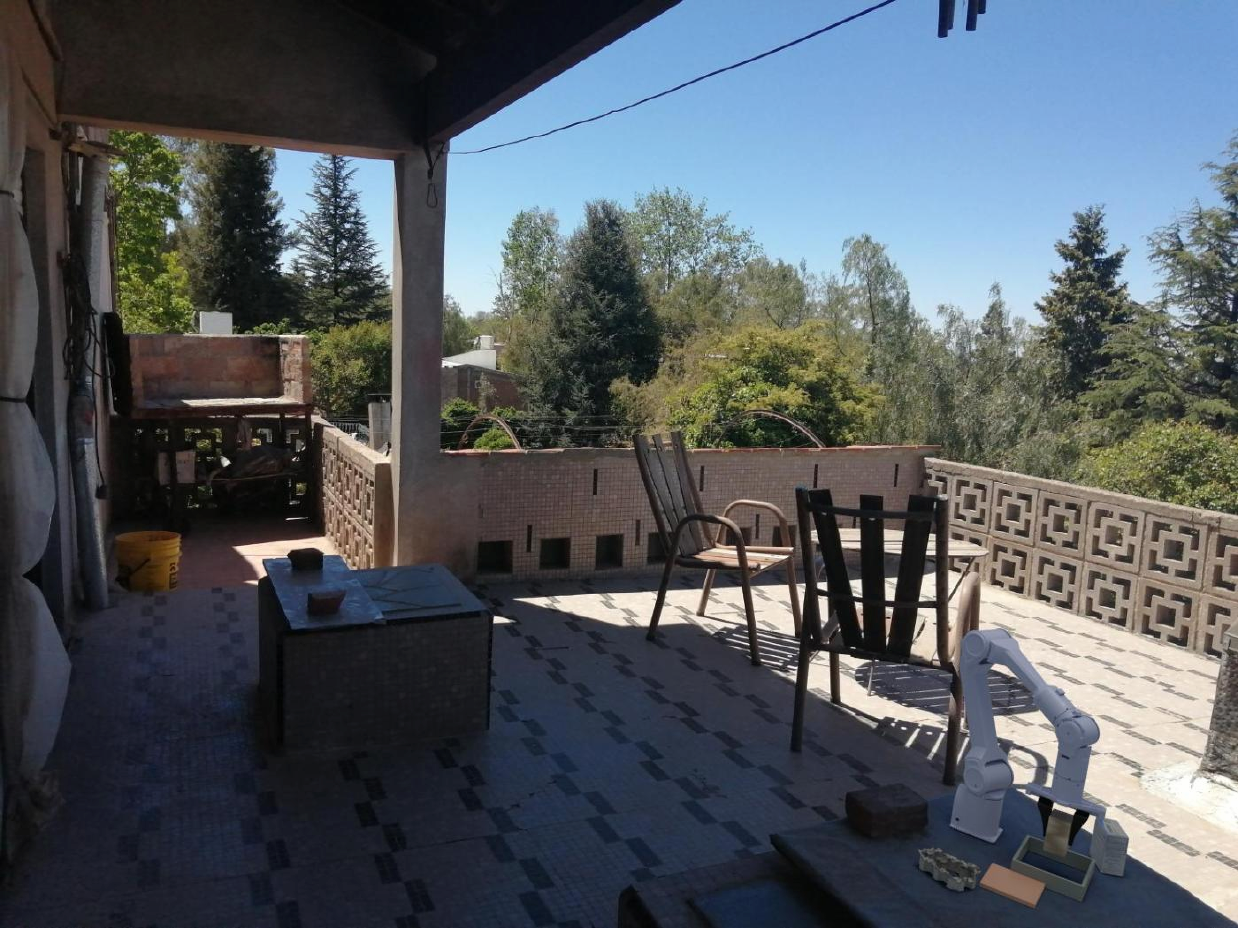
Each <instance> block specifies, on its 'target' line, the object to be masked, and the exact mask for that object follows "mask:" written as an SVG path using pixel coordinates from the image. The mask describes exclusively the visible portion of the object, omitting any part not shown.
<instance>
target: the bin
mask: <svg viewBox="0 0 1238 928" xmlns="http://www.w3.org/2000/svg"><path fill="white" fill-rule="evenodd" d="M1044 842H1045V840H1043V839H1041V838H1038V837H1035V836H1033V835H1029V834H1027V835H1026V836H1025V838H1024V840H1023V841H1022V842H1021V844H1020V846H1019V848H1018V849H1017V851H1016V853H1015V854H1014V855H1013V857H1012V859H1011V863H1010V868H1009V869H1010V870H1012V871H1014V872H1017V873H1019V874H1022V875H1024V876H1027V877H1029V878H1032V879H1035V880H1037V881H1040V882H1042V883H1045V884H1046V885H1045V889H1047V890H1050V891H1053V892H1055V893H1058V894H1060V895H1063V896H1065V897H1068V898H1070V899H1072V900H1076V901H1078V902H1080V903H1082V902H1083V900H1084V898H1085V895H1086V893H1087V891H1088V888H1089V886H1090V882H1091V880H1092V878H1093V876H1094V871H1095V866H1096V864H1095V862H1096V860H1095V859H1093V858H1092V857H1091V856H1090V857H1089V856H1086V855H1084V854H1082V853H1079V852H1076V851H1073V850H1070V849H1069V850H1068V852H1067V854H1066V856H1065V857H1062V856H1059V855H1057V854H1054V853H1051V852H1049V851H1046V850H1043V847H1044ZM1028 851H1029V852H1032V853H1034V854H1037V855H1039V856H1042V857H1045V858H1048V859H1050V860H1053V861H1055V862H1058V863H1061V864H1063V865H1067V866H1069V867H1072V868H1074V869H1077V870H1080V871H1082V872H1085V876H1084V878H1083V880H1082V883H1081V884H1080V883H1079V882H1075V881H1072V880H1069V879H1067V878H1064V877H1062V876H1059V875H1056V874H1054V873H1052V872H1049V871H1046V870H1044V869H1041V868H1038V867H1035V866H1033V865H1030V864H1028V863H1025V862H1023V861H1022V860H1023V859H1024V857H1025V855H1026V853H1027V852H1028Z"/></svg>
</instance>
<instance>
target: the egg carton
mask: <svg viewBox="0 0 1238 928" xmlns="http://www.w3.org/2000/svg"><path fill="white" fill-rule="evenodd" d="M917 851H918V852H919V862H918V865H919V866H918V868H919V870H921V871H922V872H929V873H931V874H932V879H934V880H935V881H941V882H943V881H944V882H943V883H945V884H946V888H947V887H948V888H950V889H956V890H958V891H957V892H959V891H963V892H964V887H965V888H969V887H970V888H969V889H972V890H973V889H975V888H976V882H977V876H976V875H979V874H980V873H981V872H982V870H981V869H982V868H980V867H978V865H976V864H974V863H972V862H970V861H969V862H967V863H966V862H965V861H964V860H960V859H958V858H957V857H955V856H954V855H951V854H948V853H945V852H944V851H943V850H942V849H941V848H939V847H936V849H935V848H934V847H931V848H923V849H917ZM949 871H950V872H955V873H957V874H958V876H955V877H954V876H952V875H951V874H950V872H949ZM948 888H947V889H948ZM950 889H949V890H950ZM956 890H955V891H956Z"/></svg>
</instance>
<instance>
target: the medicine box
mask: <svg viewBox="0 0 1238 928" xmlns="http://www.w3.org/2000/svg"><path fill="white" fill-rule="evenodd" d="M1129 843H1130V837H1129V835H1128V834H1127V833H1126V832H1125V830H1124V828H1123V827H1122V826H1121V824H1120V822H1119V821H1118V820H1117V819H1116V820H1115V819H1111V818H1106V817H1105V819H1104V821H1103V820H1100V819H1098V817H1095V819H1094V824H1093V829H1092V836H1091V842H1090V847H1089V852H1088V853H1089V855H1090V858H1093V859H1095V860H1096V862H1095V866H1096V867H1097V868H1098V870H1099V872H1100V873H1102V874H1106V875H1109V876H1116V877H1121V878H1122V877H1123V876H1124V871H1125V866H1126V865H1125V864H1126V859H1127V855H1128V848H1129Z"/></svg>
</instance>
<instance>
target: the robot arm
mask: <svg viewBox="0 0 1238 928" xmlns="http://www.w3.org/2000/svg"><path fill="white" fill-rule="evenodd" d="M959 643H960V648H961V649H960V650H961V654H960V655H961V656H960V659H959V674H960V681H961V688H962V692H963V699H964V701H963V702H964V706H965V712H966V713H965V714H966V721H967V726H968V733H969V739H970V745H971V746H970V750H968V752H967V753H966V755H965V756H964V760H963V761H964V770H963V782H964V783H960V784H958V787H957V789H956V792H955V794H954V795H955V796H954V799H953V805H952V812H951V817H950V823H949V827H950V826H951V827H953V828H952V829H954V828H955V829H954V830H956V829H957V831H958V832H959V831H960V832H962V833H963V834H967V835H969V834H970V836H971V837H972V836H973V837H975V838H978V839H981V840H983V841H985V842H988V843H991V844H995V843H996V842H997V840H998V839H999V838H1000V836H1001V834H1002V833H1003V830H1004V829H1002V828H1001V827H999V826H1000V820H1001V815H1002V811H1003V810H1002V808H1003V803H1004V798H1005V795H1006V791H1007V789H1009V788H1011V787H1012V786H1013V784H1014V781H1015V774H1014V770H1013V768H1012V767H1011V765H1010V763H1009V760H1008V754H1007V753H1006V752H1005V751H1004V750H1002V748H1001V747H1000V746H999V742H998V738H997V737H998V736H997V730H996V723H995V717H994V710H993V703H992V697H991V691H990V685H989V679H988V672H989V671H990V670H991V668H993V667H994V665H1000V666H1004V667H1006V668H1007V669H1008V670H1009V671H1010V672H1011V673H1012V675H1014V676H1015V677H1016V678H1017V680H1019V681H1020V682H1021V683H1022V684H1023V685H1024V686H1025V687H1026V688H1027V689H1028V691H1030V692H1031V693H1032V695H1033V698H1032V699H1033V700H1032V701H1033V704H1034V705H1035V706H1036V708H1037V709H1038V710H1039V711H1040V712H1041V713H1042V715H1044V717H1045V718H1046V719H1047V720H1048V722H1049V723H1050V724H1051V725H1052V726H1053V727H1054V733H1055V737H1056V740H1057V752H1056V753H1057V755H1056V760H1055V765H1054V769H1053V770H1054V771H1053V775H1052V780H1051V781H1052V782H1051V787H1050V786H1046V785H1042V784H1037V783H1033V782H1031V781H1030V782H1029V781H1028V782H1027V784H1026V785H1025V786H1026V787H1025V793H1024V794H1025V795H1028V796H1035V797H1037V798H1038V801H1037V802H1036V804H1037V808H1038V811H1039V814H1040V819H1041V823H1042V836H1043V837H1044V838H1045V836H1046V831H1047V826H1048V820H1049V816H1050V814H1051V813H1052V811H1053V809H1054V804H1056V805H1058V806H1060V807H1063V808H1070V809H1072V810H1075V812H1074V813H1073V814H1072V815H1073V822H1072V829H1071V833H1070V837H1069V841H1068V846H1070V847H1073V845H1074V841H1075V839H1076V836H1077V834H1078V833H1079V832H1080V830H1081V829H1082V827H1083V826H1084V825H1085V824H1086V822H1087V821H1088V820H1089V818H1090V816H1093V817H1095V818H1096V817H1098V819H1100V820H1103V821H1104V819H1105V818H1106V815H1107V810H1108V809H1107V808H1106V807H1104V806H1101V805H1098V804H1096V803H1094V802H1092V801H1090V800H1087V799H1086V798H1083V796H1084V791H1085V786H1086V780H1087V775H1088V769H1089V764H1090V759H1091V753H1092V746H1093V745H1095V744H1097V742H1098V741H1099V740H1100V738H1101V737H1100V736H1101V729H1100V727H1099V725H1098V723H1097V722H1096V720H1095V719H1094V718H1093V717H1092V716H1090V715H1087V714H1083V713H1082V711H1081V710H1080V709H1079V708H1076V706H1075V705H1074V704H1073V703H1072V702H1071V700H1070V699H1068V697H1067V696H1066V695H1065V694H1066V692H1065V691H1064V689H1063V688H1058V686H1057V685H1052V684H1048V683H1047V682H1046V680H1044V678H1043V677H1042V675H1041V674H1040V673H1039V672H1038V671H1037V669H1036V668H1035V667H1034V666H1033V665H1032V663H1031V662H1030V661H1029V659H1028V658H1027V657H1026V655H1025V654H1024V652H1023V651H1022V650H1021V649H1020V644H1019V642H1018V640H1016V639H1015V638H1014V637H1013V636H1012V634H1011V633H1010V632H1009V631H1008V630H1007V629H1005V628H1001V627H998V628H994V629H983V630H980V629H973V630H970V631H968V632H967V633H966V634H965V635H964V637H962V639H960V642H959ZM951 827H950V828H951Z"/></svg>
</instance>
